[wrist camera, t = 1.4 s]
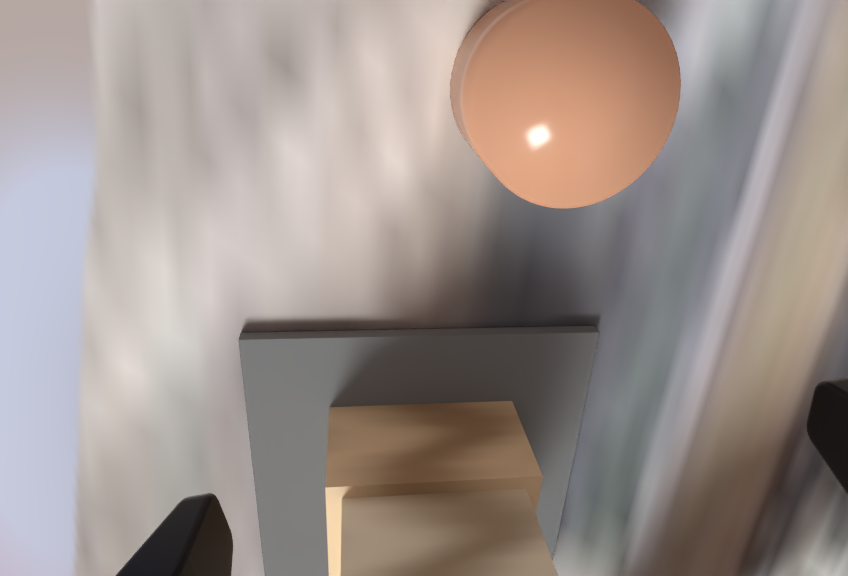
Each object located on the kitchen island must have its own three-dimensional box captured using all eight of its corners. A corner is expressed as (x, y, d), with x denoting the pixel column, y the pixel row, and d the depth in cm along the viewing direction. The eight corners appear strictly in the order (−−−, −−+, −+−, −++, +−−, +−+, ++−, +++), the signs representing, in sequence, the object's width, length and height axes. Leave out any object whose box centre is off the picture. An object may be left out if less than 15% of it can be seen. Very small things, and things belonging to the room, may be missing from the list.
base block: (512, 400, 22) (542, 476, 19) (494, 529, 25) (517, 615, 22) (329, 407, 21) (325, 487, 18) (333, 540, 25) (331, 630, 21)
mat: (594, 325, 22) (599, 332, 21) (546, 561, 28) (550, 571, 27) (240, 332, 20) (238, 339, 20) (268, 582, 26) (266, 592, 25)
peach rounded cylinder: (630, -4, 17) (704, -6, 13) (598, 171, 19) (654, 209, 16) (455, -13, 16) (484, -18, 13) (444, 169, 19) (466, 207, 15)
